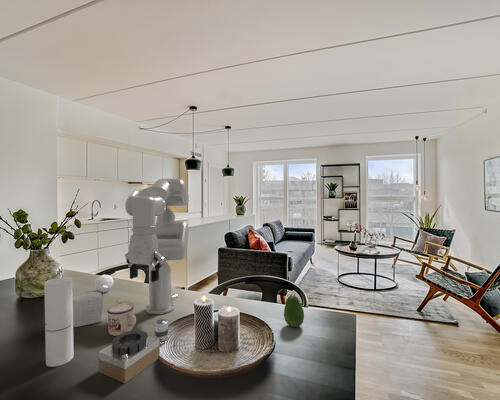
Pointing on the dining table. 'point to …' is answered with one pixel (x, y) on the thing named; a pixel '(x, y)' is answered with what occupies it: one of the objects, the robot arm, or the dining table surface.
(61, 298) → the cylindrical container
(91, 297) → the photo printer
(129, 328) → the teacup with lid
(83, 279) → the dining table surface
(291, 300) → the avocado
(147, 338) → the camera body
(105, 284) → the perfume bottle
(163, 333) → the lens
